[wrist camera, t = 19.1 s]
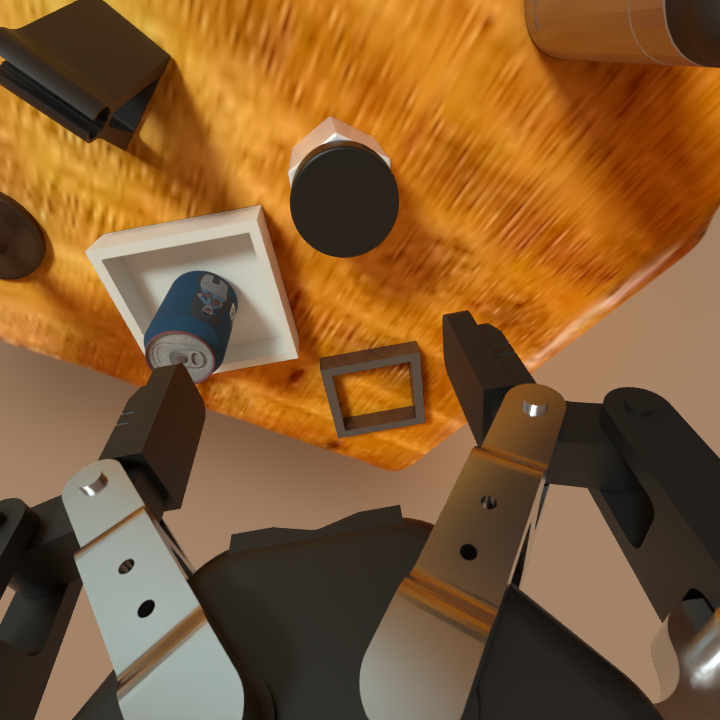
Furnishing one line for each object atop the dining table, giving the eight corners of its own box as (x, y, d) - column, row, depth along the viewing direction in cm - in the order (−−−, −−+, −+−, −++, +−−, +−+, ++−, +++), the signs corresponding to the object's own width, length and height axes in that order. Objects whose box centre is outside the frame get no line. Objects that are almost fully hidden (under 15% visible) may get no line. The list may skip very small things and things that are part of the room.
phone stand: (125, 150, 38) (64, 185, 29) (53, 100, 35) (-41, 120, 26) (172, 56, 34) (120, 60, 25) (95, -8, 32) (4, -30, 22)
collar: (415, 340, 54) (419, 352, 52) (421, 410, 61) (425, 422, 59) (319, 358, 54) (320, 370, 52) (337, 425, 61) (338, 438, 59)
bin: (261, 204, 42) (256, 219, 38) (298, 336, 52) (298, 358, 48) (103, 234, 42) (84, 251, 39) (170, 359, 52) (160, 383, 48)
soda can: (178, 321, 48) (145, 390, 38) (167, 263, 44) (128, 325, 34) (241, 323, 49) (225, 391, 39) (237, 266, 45) (217, 327, 35)
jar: (381, 210, 44) (402, 256, 34) (303, 220, 43) (301, 269, 34) (375, 110, 38) (398, 131, 29) (285, 121, 38) (277, 146, 28)
